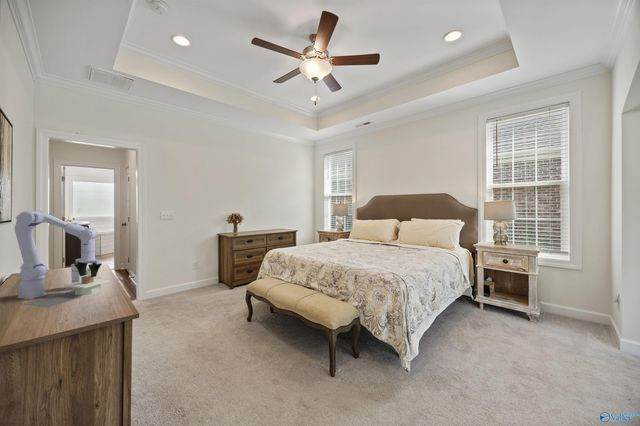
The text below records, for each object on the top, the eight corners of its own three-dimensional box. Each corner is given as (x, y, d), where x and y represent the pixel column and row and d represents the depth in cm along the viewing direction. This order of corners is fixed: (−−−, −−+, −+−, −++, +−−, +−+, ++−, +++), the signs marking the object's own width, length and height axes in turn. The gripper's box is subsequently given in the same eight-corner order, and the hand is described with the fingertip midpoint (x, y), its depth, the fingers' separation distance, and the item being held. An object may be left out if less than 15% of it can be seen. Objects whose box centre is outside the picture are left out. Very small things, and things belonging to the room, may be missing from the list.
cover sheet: (64, 286, 136) (64, 278, 136) (90, 279, 148) (90, 272, 148) (84, 288, 133) (84, 280, 133) (109, 281, 146) (109, 274, 146)
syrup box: (79, 290, 145) (79, 264, 145) (71, 289, 146) (70, 263, 146) (90, 287, 151) (90, 262, 150) (82, 286, 152) (82, 261, 152)
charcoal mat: (21, 304, 123) (21, 304, 123) (57, 295, 137) (57, 294, 137) (48, 308, 120) (48, 307, 120) (81, 297, 133) (81, 297, 133)
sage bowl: (70, 294, 137) (70, 285, 137) (90, 289, 147) (90, 280, 147) (85, 296, 135) (85, 286, 135) (104, 290, 145) (104, 281, 145)
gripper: (69, 251, 138) (69, 277, 139) (91, 253, 135) (91, 279, 136) (83, 249, 145) (83, 274, 145) (104, 251, 142) (104, 275, 143)
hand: (88, 276), depth 141 cm, fingers open, 7 cm apart
